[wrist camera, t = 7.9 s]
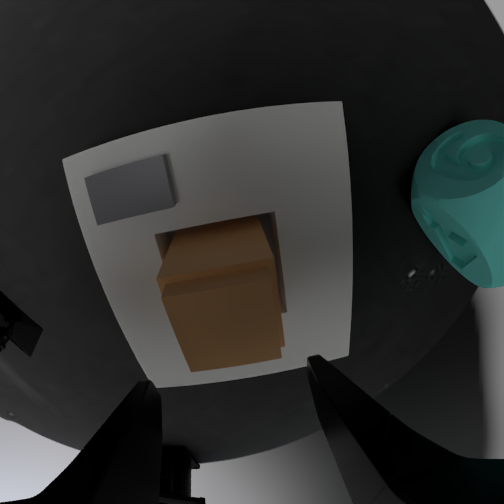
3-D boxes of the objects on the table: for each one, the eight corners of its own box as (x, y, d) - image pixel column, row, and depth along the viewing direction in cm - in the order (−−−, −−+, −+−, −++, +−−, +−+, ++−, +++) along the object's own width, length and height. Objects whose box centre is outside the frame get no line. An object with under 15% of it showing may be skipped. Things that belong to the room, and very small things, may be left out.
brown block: (267, 282, 18) (289, 361, 12) (196, 295, 18) (186, 377, 12) (256, 213, 16) (278, 269, 10) (177, 228, 16) (150, 292, 10)
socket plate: (335, 329, 21) (352, 363, 18) (159, 359, 21) (152, 396, 17) (321, 105, 14) (348, 99, 11) (86, 153, 14) (54, 161, 11)
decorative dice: (436, 256, 20) (501, 309, 12) (391, 183, 17) (477, 222, 10) (488, 192, 18) (556, 224, 10) (453, 114, 15) (538, 125, 8)
